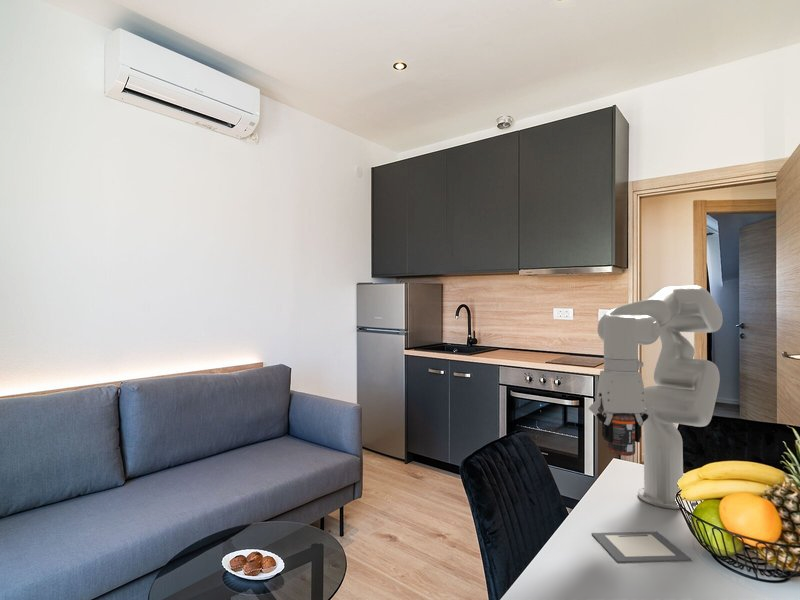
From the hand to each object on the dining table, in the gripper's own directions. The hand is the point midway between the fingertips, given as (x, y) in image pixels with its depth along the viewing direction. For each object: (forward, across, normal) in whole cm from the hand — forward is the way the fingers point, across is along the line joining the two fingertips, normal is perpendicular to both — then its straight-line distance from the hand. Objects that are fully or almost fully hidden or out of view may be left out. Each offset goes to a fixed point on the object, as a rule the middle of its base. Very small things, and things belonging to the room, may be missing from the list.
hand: (621, 440), depth 108 cm
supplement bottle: (+3, 0, 0) cm, 3 cm away
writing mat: (+22, 0, +7) cm, 23 cm away
